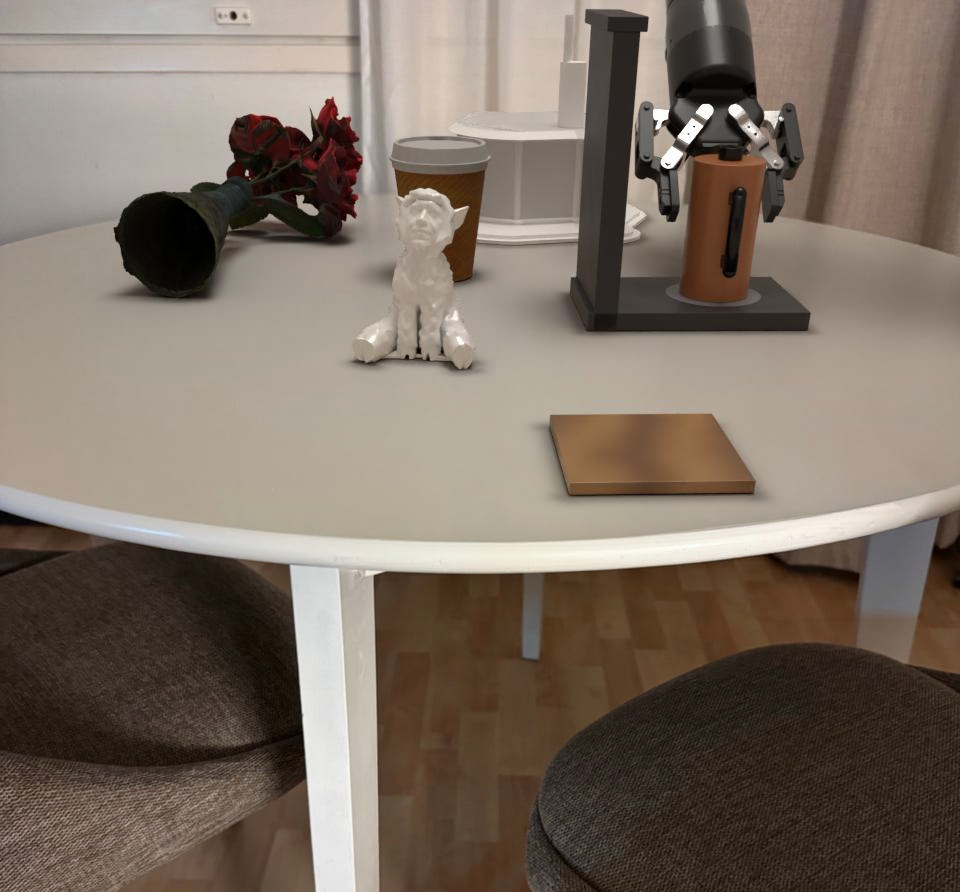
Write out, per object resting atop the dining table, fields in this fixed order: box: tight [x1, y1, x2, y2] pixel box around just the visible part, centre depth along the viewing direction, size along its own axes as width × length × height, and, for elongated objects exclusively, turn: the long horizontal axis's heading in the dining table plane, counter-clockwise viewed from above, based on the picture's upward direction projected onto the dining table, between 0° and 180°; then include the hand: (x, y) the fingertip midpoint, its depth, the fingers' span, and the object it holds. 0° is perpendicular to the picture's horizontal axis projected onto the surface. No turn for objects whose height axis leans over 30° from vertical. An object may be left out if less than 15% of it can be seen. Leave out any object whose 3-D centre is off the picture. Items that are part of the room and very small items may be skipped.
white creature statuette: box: [351, 188, 477, 370], centre depth 82 cm, size 10×9×12 cm
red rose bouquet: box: [113, 95, 364, 299], centre depth 108 cm, size 16×18×35 cm
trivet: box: [548, 413, 757, 496], centre depth 67 cm, size 11×11×1 cm
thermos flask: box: [679, 145, 767, 303], centre depth 90 cm, size 6×8×12 cm
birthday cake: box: [447, 13, 647, 246], centre depth 122 cm, size 30×29×22 cm
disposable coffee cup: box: [388, 135, 491, 282], centre depth 102 cm, size 10×10×12 cm
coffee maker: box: [569, 8, 812, 332], centre depth 89 cm, size 19×12×23 cm, turn 93°
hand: (722, 217), depth 91 cm, fingers open, 8 cm apart
